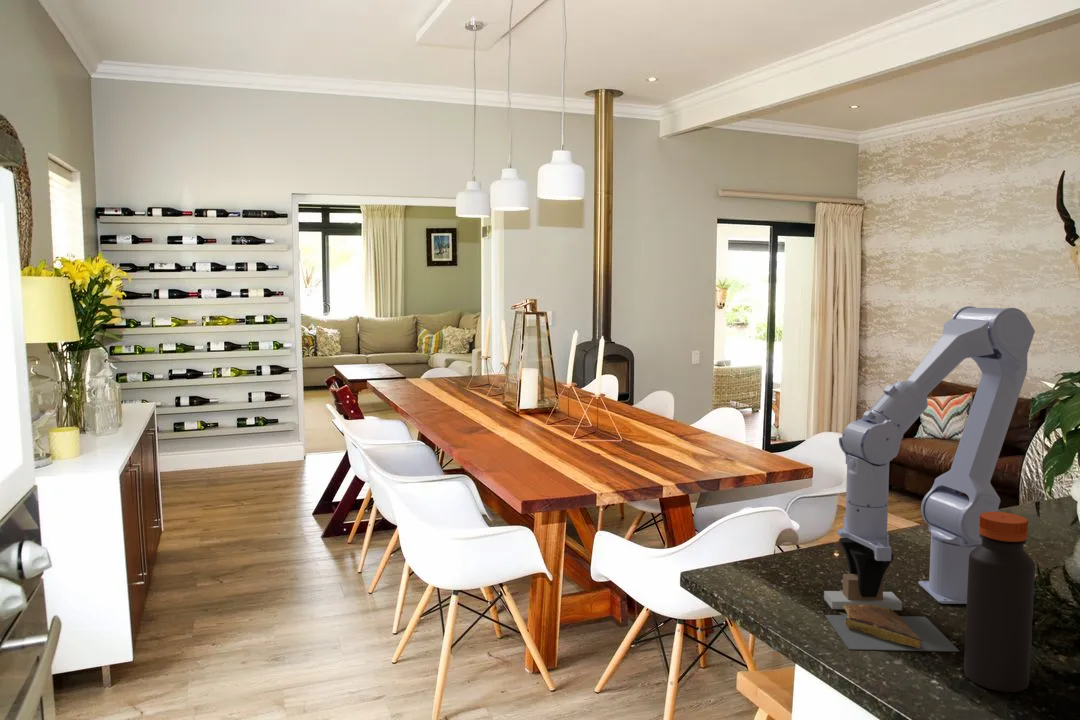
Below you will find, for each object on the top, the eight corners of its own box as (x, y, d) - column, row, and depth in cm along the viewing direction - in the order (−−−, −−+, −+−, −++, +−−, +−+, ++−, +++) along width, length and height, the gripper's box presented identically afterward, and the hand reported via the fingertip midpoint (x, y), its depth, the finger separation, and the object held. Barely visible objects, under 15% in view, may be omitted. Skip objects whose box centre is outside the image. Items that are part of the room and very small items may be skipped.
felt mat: (925, 617, 111) (925, 616, 111) (959, 651, 101) (959, 650, 101) (824, 615, 112) (824, 614, 112) (849, 649, 102) (849, 648, 102)
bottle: (1000, 663, 97) (1008, 507, 96) (1042, 691, 91) (1052, 524, 89) (951, 667, 96) (958, 510, 95) (990, 696, 90) (998, 527, 88)
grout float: (891, 601, 118) (892, 572, 117) (901, 612, 114) (902, 582, 113) (824, 600, 118) (824, 571, 118) (832, 611, 114) (832, 581, 114)
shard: (922, 651, 100) (923, 638, 100) (862, 650, 101) (862, 637, 101) (890, 616, 111) (890, 604, 111) (835, 615, 112) (836, 603, 112)
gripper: (824, 489, 122) (822, 573, 123) (855, 516, 108) (853, 611, 109) (870, 489, 121) (867, 573, 123) (908, 516, 107) (904, 612, 108)
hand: (864, 591), depth 116 cm, fingers open, 3 cm apart
